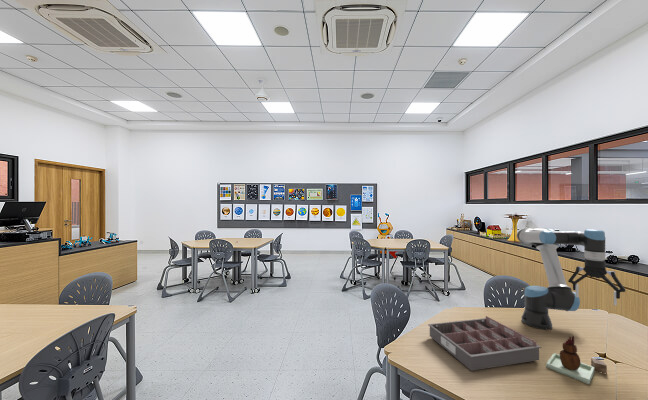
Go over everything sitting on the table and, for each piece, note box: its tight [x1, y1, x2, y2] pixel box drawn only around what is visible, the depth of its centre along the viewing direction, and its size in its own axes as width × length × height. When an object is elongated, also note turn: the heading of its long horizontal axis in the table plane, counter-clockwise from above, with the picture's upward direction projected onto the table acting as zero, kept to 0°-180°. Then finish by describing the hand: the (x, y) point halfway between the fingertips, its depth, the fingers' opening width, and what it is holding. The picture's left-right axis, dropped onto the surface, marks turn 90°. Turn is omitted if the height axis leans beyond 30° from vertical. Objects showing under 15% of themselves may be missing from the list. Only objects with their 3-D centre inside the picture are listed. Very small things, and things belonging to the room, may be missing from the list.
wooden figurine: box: [559, 335, 581, 370], centre depth 118 cm, size 7×6×15 cm
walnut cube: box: [590, 358, 608, 375], centre depth 117 cm, size 4×4×4 cm
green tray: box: [545, 352, 595, 385], centre depth 117 cm, size 14×14×2 cm
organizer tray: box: [427, 315, 542, 371], centre depth 134 cm, size 32×40×10 cm
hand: (595, 300), depth 132 cm, fingers open, 13 cm apart
